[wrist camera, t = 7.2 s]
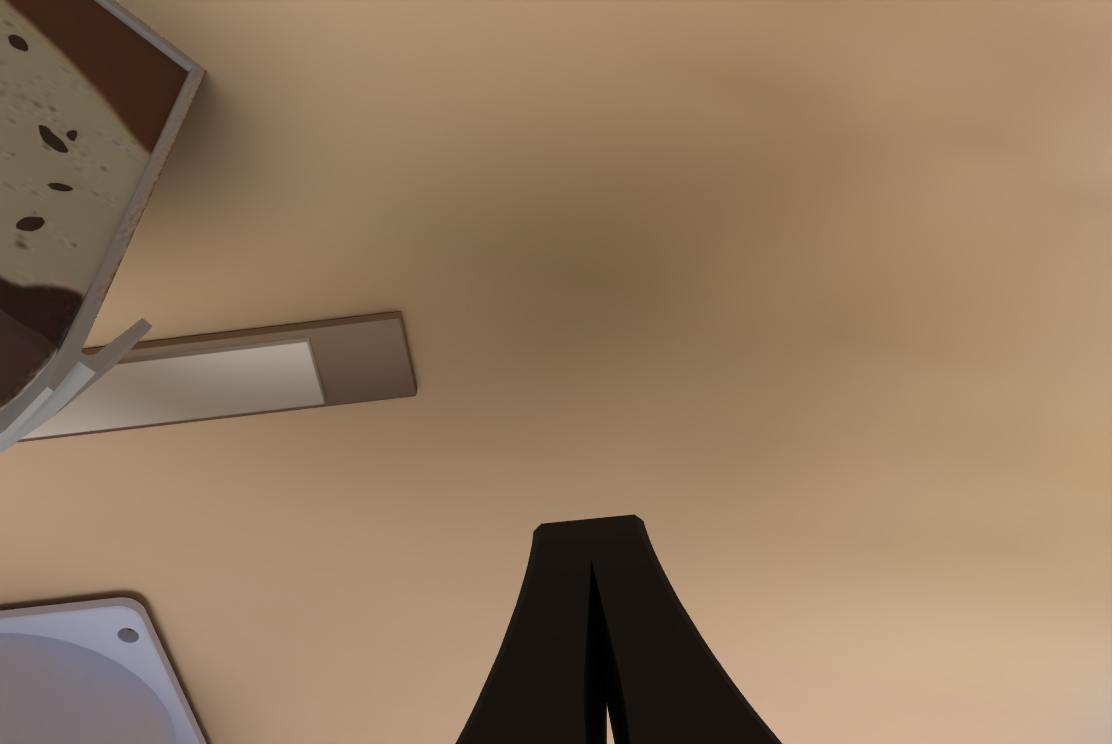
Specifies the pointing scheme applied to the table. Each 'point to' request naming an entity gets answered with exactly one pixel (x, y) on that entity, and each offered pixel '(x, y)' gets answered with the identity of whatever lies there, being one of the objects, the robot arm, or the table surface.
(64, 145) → the food container
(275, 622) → the table surface
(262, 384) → the game lane
